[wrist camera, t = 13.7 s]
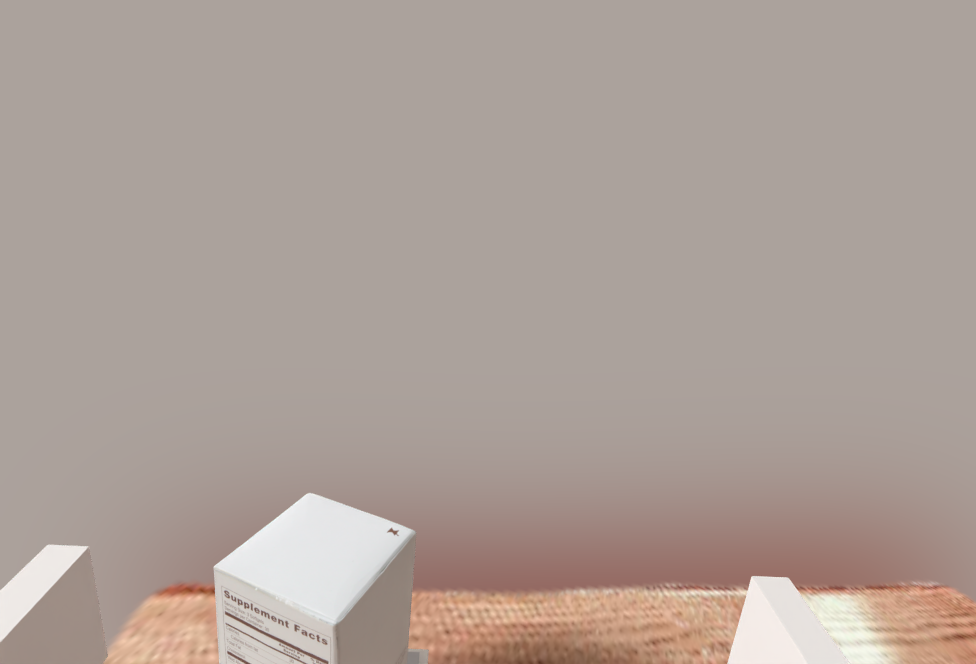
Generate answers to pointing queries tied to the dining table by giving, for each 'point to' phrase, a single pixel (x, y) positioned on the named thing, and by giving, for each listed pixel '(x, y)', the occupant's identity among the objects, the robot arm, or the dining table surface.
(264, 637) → the supplement box
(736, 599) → the dining table surface
